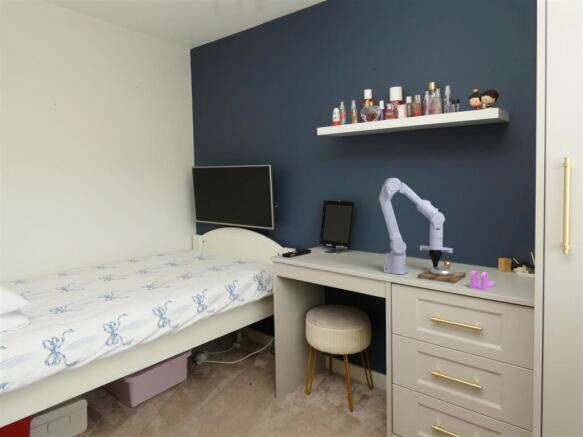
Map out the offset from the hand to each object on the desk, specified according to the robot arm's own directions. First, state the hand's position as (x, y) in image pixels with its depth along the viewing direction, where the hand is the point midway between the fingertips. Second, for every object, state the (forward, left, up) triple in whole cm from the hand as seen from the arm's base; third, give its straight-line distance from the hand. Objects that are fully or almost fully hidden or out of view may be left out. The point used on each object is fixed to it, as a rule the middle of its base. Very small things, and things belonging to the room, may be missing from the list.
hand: (435, 266), depth 198 cm
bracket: (+24, -13, -3) cm, 28 cm away
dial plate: (+5, -7, -3) cm, 9 cm away
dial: (+5, -5, -1) cm, 8 cm away
